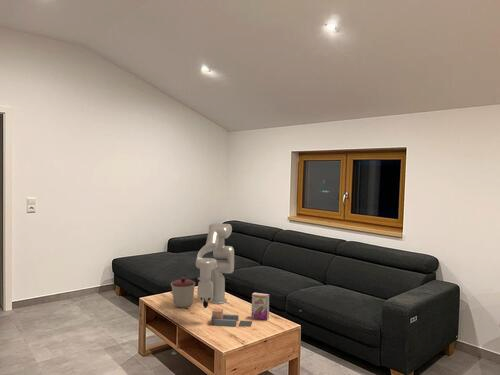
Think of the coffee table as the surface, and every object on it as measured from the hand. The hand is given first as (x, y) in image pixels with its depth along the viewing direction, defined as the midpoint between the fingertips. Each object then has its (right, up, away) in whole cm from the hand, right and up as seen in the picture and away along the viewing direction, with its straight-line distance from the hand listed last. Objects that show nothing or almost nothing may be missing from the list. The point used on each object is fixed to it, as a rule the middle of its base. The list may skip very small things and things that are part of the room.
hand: (205, 307), depth 256 cm
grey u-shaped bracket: (+13, -10, -1) cm, 16 cm away
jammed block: (+8, -10, 0) cm, 13 cm away
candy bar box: (+36, -10, +7) cm, 38 cm away
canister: (-20, -9, +32) cm, 39 cm away
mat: (+26, -10, -2) cm, 28 cm away
